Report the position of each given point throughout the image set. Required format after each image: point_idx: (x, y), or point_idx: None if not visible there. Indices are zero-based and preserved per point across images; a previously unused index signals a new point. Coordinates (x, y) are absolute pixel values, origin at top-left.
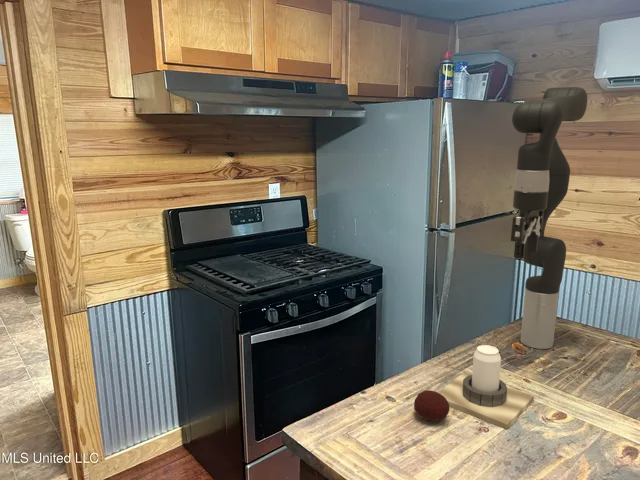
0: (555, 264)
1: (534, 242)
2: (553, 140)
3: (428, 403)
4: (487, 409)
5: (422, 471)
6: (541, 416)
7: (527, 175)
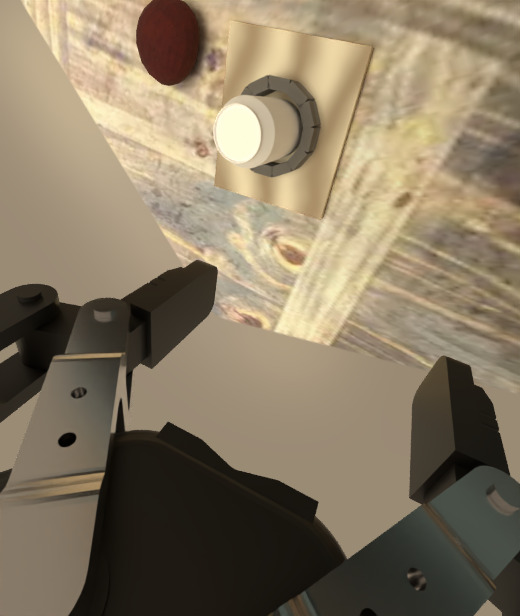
0: None
1: (418, 446)
2: None
3: (137, 43)
4: None
5: (82, 93)
6: (277, 230)
7: None
